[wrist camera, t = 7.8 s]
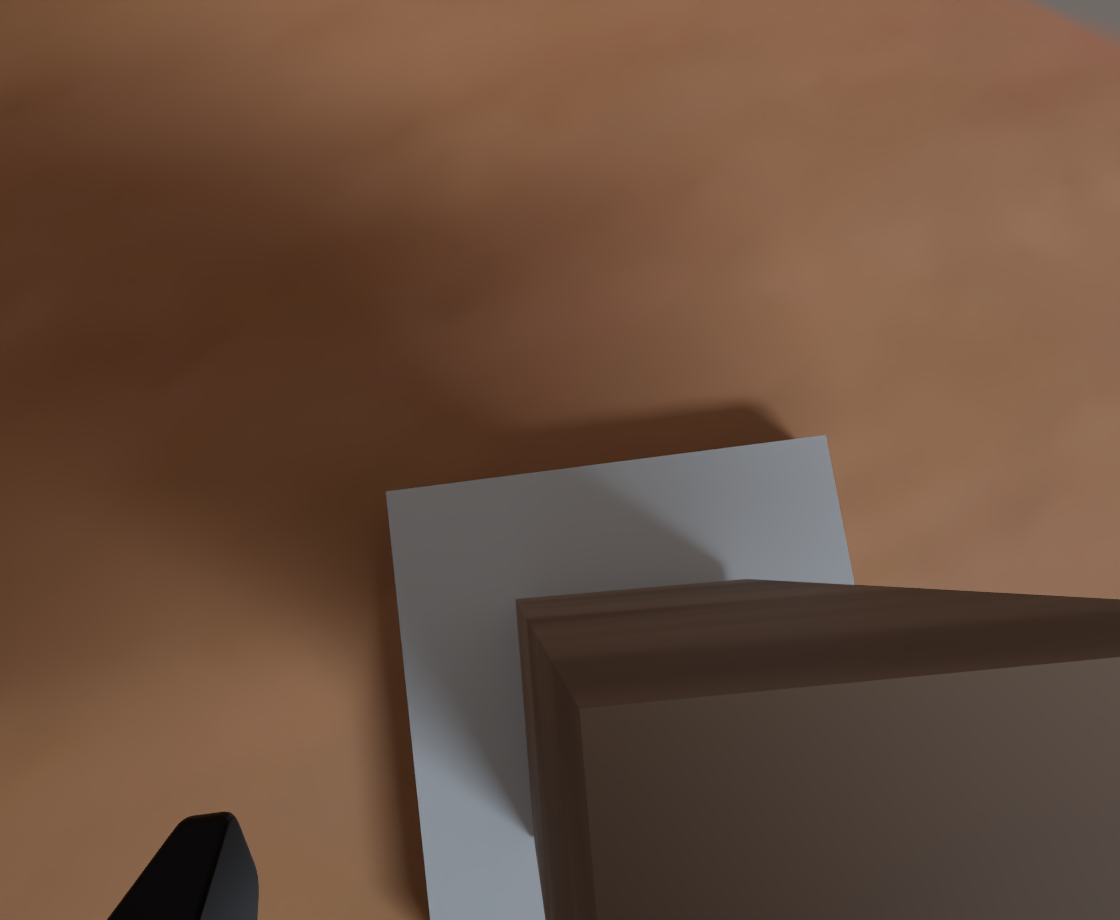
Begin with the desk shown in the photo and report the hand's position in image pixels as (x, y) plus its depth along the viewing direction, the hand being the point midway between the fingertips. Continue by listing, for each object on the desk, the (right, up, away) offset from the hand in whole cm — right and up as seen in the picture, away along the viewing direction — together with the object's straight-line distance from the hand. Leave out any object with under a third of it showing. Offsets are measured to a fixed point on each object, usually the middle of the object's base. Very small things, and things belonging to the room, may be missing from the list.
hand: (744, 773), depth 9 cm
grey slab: (0, -2, +10) cm, 10 cm away
